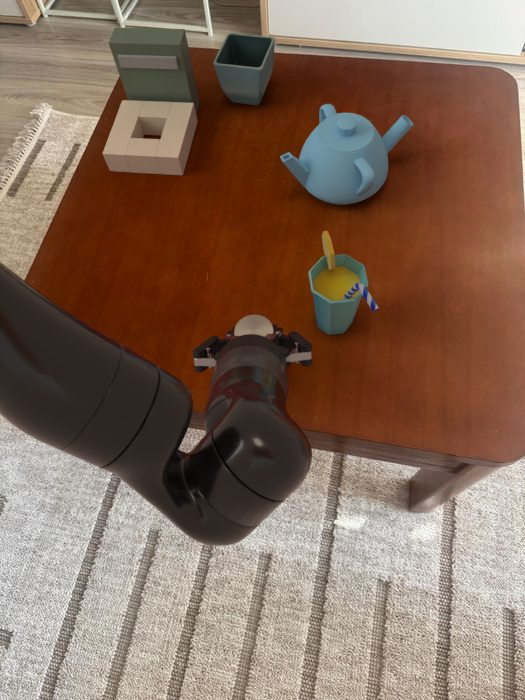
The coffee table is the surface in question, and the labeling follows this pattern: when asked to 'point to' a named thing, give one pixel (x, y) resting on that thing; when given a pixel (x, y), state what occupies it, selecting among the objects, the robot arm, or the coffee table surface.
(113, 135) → the hollow square tile
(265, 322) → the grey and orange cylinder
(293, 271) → the coffee table surface
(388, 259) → the coffee table surface
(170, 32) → the green upright block
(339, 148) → the teapot
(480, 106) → the coffee table surface
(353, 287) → the cup
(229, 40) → the flower pot
